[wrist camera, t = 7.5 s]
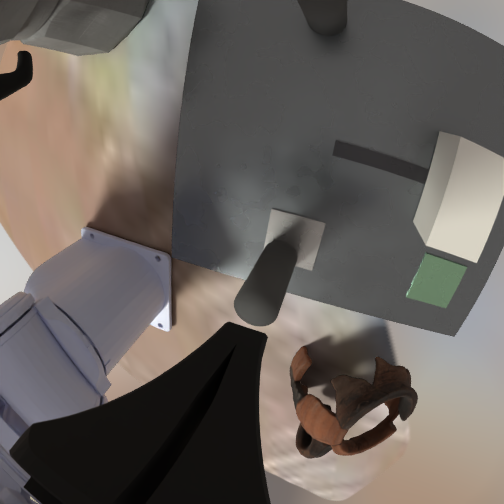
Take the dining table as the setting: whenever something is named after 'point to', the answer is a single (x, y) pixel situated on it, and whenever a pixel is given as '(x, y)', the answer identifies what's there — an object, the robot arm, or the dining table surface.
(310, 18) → the black cylinder
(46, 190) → the dining table surface
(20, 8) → the coffeepot
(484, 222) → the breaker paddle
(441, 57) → the panel
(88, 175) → the dining table surface
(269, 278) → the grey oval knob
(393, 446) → the dining table surface
